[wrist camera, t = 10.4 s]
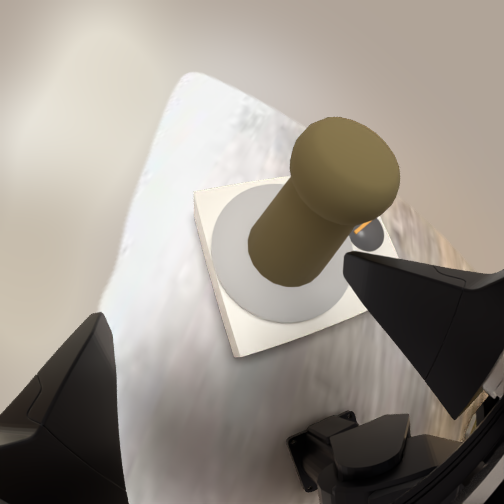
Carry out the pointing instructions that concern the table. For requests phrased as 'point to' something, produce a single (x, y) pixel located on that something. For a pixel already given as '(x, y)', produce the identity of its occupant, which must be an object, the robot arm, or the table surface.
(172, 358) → the table surface
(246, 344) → the kitchen scale
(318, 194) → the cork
